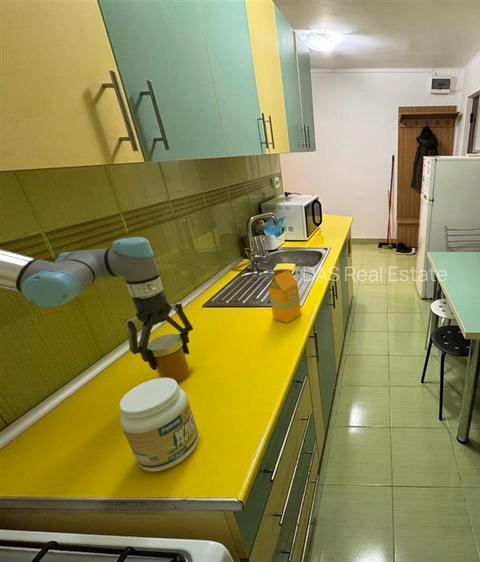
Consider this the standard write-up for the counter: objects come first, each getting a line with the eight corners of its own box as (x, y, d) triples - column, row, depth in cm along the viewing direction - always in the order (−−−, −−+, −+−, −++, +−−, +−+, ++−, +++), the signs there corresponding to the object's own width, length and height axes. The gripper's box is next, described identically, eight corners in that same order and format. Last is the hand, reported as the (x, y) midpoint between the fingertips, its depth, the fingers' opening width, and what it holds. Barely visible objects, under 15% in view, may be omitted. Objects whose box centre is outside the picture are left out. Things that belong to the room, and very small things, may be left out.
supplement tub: (183, 473, 66) (161, 414, 59) (125, 476, 65) (97, 417, 59) (209, 426, 77) (192, 373, 71) (159, 429, 77) (138, 375, 70)
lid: (175, 336, 97) (173, 330, 96) (188, 346, 92) (186, 339, 91) (144, 350, 90) (142, 343, 89) (155, 360, 86) (153, 353, 85)
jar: (154, 384, 92) (142, 351, 87) (172, 367, 99) (161, 336, 94) (179, 385, 91) (168, 352, 87) (195, 368, 99) (186, 336, 94)
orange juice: (301, 313, 132) (296, 270, 124) (287, 322, 125) (281, 278, 117) (287, 309, 135) (281, 267, 127) (273, 318, 128) (265, 274, 120)
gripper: (104, 312, 74) (134, 385, 83) (194, 283, 90) (211, 347, 99) (95, 304, 78) (124, 374, 87) (182, 278, 94) (199, 340, 103)
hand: (170, 360), depth 93 cm, fingers closed on lid, 9 cm apart
